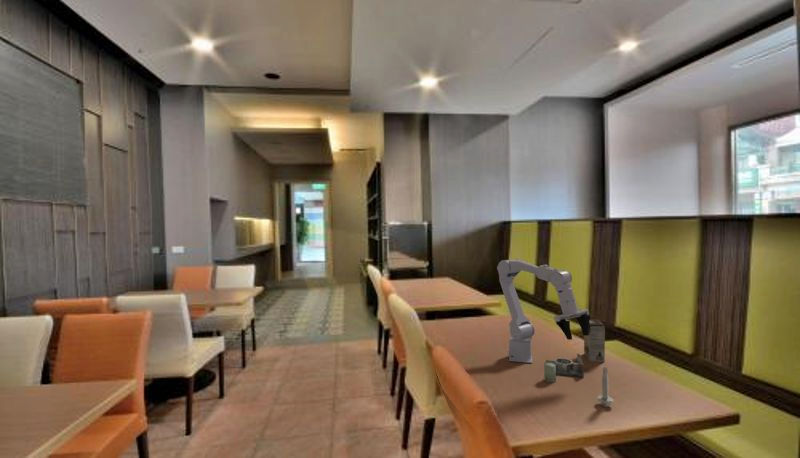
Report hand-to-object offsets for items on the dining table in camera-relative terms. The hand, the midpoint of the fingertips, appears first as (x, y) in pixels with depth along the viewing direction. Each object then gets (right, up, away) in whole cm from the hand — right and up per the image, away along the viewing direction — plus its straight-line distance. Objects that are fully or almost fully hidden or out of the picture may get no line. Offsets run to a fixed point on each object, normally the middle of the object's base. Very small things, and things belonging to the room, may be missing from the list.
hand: (578, 337), depth 142 cm
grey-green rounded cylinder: (-10, -17, +1) cm, 20 cm away
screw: (0, -17, -18) cm, 25 cm away
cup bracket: (-1, -16, +11) cm, 19 cm away
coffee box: (+18, -16, +22) cm, 33 cm away
